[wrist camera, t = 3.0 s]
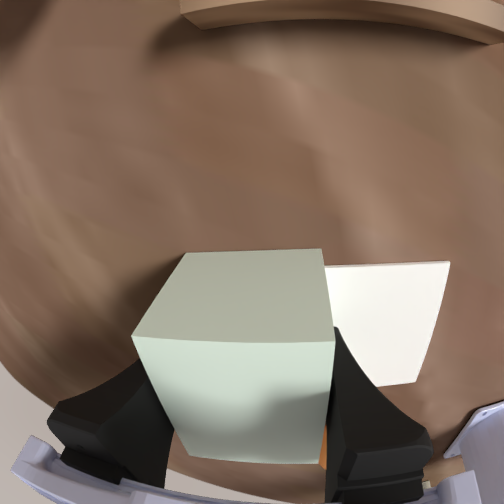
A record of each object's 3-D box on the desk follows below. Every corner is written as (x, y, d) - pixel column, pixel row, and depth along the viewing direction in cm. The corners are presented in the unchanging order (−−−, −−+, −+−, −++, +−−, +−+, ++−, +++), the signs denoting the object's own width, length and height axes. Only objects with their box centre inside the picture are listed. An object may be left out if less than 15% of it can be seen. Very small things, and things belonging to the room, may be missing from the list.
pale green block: (321, 248, 13) (335, 341, 8) (316, 374, 16) (318, 463, 11) (185, 252, 13) (131, 335, 8) (213, 372, 17) (189, 455, 12)
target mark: (448, 260, 12) (450, 262, 12) (414, 379, 15) (415, 381, 15) (276, 267, 13) (275, 269, 13) (282, 388, 17) (282, 390, 16)
